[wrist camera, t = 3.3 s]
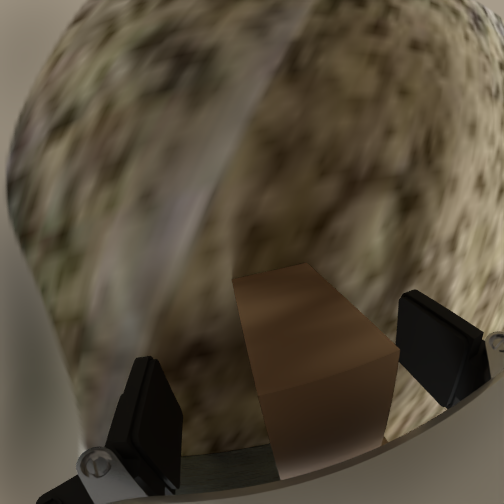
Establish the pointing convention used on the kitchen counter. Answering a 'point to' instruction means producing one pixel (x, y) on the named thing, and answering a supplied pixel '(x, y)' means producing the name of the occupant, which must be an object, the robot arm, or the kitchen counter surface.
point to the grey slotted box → (227, 470)
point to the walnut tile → (315, 368)
